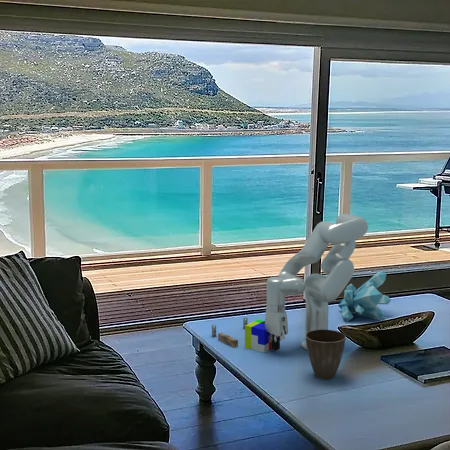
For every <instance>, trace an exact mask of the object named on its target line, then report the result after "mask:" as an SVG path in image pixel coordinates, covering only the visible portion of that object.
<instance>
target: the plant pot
mask: <svg viewBox="0 0 450 450" xmlns="http://www.w3.org/2000/svg"><path fill="white" fill-rule="evenodd" d="M306 343H307V349H308V350H307V354H308V359H309V362H310V365H311V368H312V370H313V373H314V376H315V377H316V378H317V379H320V380H327V381H328V380H332V379H334V378H335V377H336V376H337V372H338V370H339V367H340V364H341V361H342V357H343V353H344V350H345V343H346V334H344V333H343V332H341V331H337V330H334V329H328V330H313V331H310V332H308V333H306Z"/></svg>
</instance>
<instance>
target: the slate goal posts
mask: <svg viewBox="0 0 450 450" xmlns="http://www.w3.org/2000/svg"><path fill="white" fill-rule="evenodd" d="M242 318H243V319H242V324H243V328H242V329H243V330H245V325H247V324H249V323H248V317H242ZM211 337H212V338H216V337H217V325H216V324H212V325H211Z"/></svg>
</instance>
